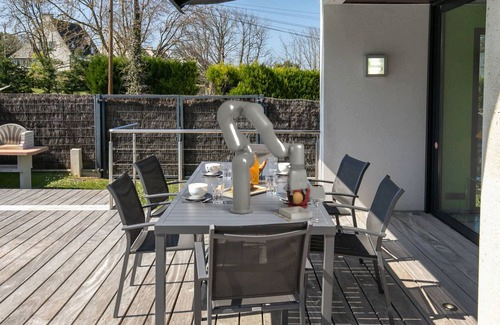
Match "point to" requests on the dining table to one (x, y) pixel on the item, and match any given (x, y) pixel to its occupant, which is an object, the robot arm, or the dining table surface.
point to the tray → (295, 213)
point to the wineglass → (317, 198)
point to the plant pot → (301, 204)
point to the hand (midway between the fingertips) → (296, 201)
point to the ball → (297, 197)
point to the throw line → (283, 217)
